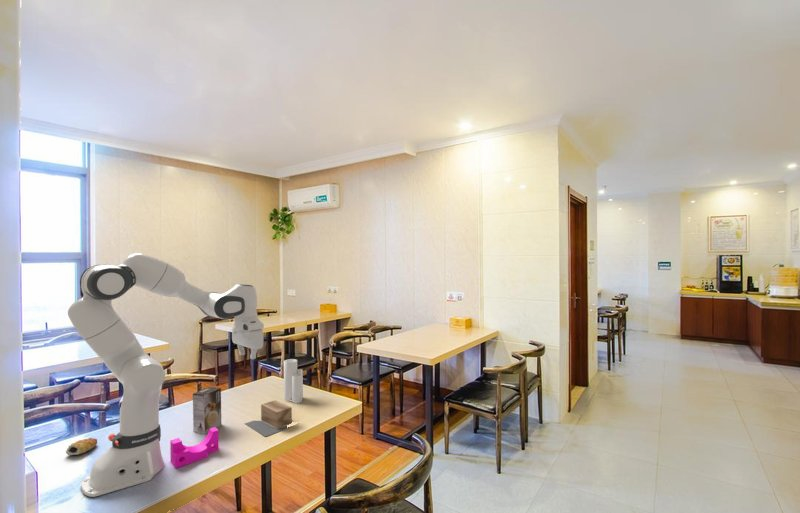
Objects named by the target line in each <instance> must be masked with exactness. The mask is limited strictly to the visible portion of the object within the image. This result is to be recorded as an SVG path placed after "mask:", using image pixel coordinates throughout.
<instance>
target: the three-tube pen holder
mask: <svg viewBox="0 0 800 513" xmlns="http://www.w3.org/2000/svg"><path fill="white" fill-rule="evenodd" d="M303 375H304V374H303V368H299V369H298V359H295V358H289V359H285V360H283V400H284V401H285V400H286V401H285V402H291V403H292V402H294V403H293V404H295V403H298V404H300V403H299V402H301V403H303V399H302V398H304V391H303V390H304V387H303V386H304V385H303V384H304V382H303V379H304V378H303ZM290 400H292V401H290Z"/></svg>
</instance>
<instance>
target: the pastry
mask: <svg viewBox="0 0 800 513" xmlns="http://www.w3.org/2000/svg"><path fill="white" fill-rule="evenodd" d="M97 444H98V439H97V438H92V437H89V438H85V439H81V440H80V439H79V440H76V441H75V442H73V443H71V444H70V445H68V448H66V450H65V454H66V455H67V456H73V455H81V454H84V453H86V452H88V451H90V450H92V449H93V448H95V447H96V446H97Z"/></svg>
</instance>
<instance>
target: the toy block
mask: <svg viewBox="0 0 800 513" xmlns="http://www.w3.org/2000/svg"><path fill="white" fill-rule="evenodd" d="M219 433H220V432H219V429H218V427H213V428H210V429H209V432H207V434H206V437H205V438H204V439H203V440H202V441H201V442H199V443H198V444H195V445H191V446H190V445H189V446H187V445H184V444H183V441H182V440H181V439H180V437H177V438H174V439H170V445H169V446H170V447H169V448H170V454H169V456H170V463H171V464H172V466H173V467H174V468H175V469H177V468H180V467H183V466H186V465H188V464H192V463H195V462H198V461H201V460H204V459H206V458H209V456H208V454H211V453H213V452H216V451H219V450H220V445H219V443H220V442H219V440H220V439H219V437H220V436H219Z"/></svg>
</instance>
